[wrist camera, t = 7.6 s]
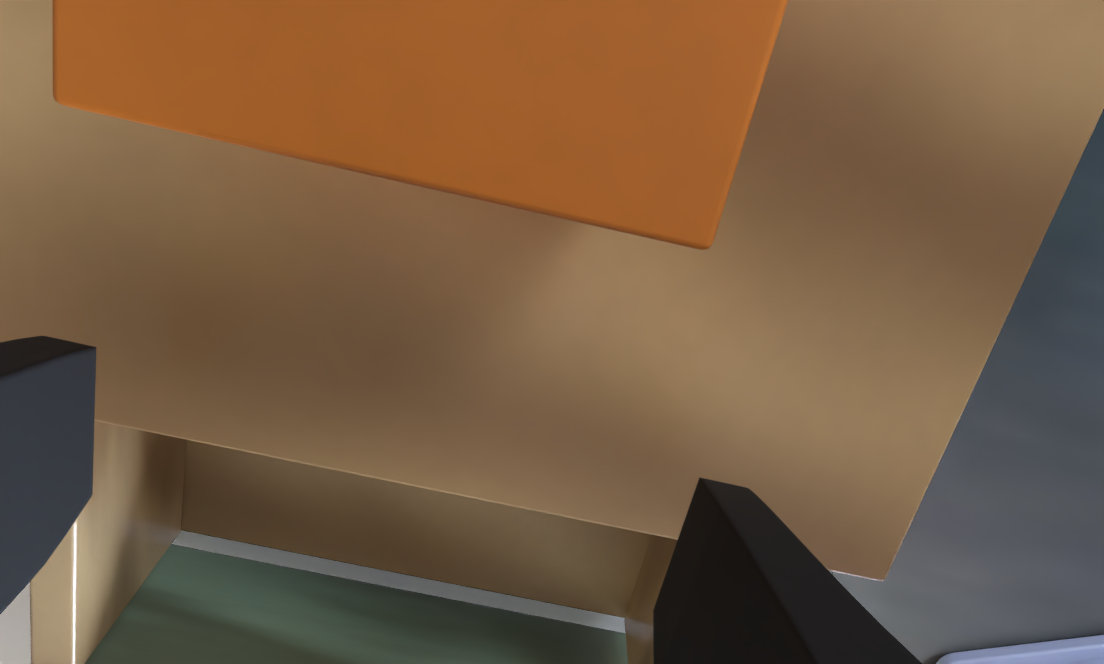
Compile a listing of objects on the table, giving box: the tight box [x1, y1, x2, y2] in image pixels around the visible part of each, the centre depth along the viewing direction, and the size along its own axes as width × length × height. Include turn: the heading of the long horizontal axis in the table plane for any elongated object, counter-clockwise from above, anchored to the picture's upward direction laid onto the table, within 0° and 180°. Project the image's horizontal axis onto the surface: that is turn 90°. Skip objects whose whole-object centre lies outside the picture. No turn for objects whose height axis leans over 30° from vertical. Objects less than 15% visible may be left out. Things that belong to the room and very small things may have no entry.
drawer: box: [30, 421, 678, 664], centre depth 17 cm, size 17×13×6 cm
